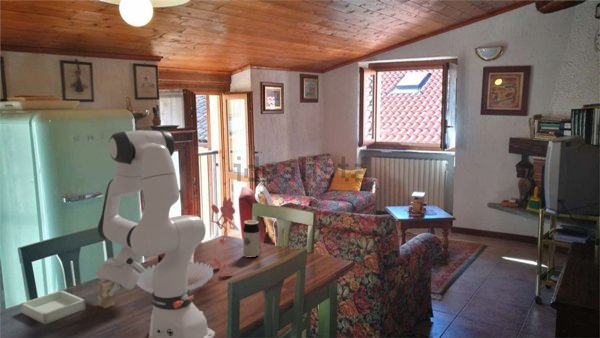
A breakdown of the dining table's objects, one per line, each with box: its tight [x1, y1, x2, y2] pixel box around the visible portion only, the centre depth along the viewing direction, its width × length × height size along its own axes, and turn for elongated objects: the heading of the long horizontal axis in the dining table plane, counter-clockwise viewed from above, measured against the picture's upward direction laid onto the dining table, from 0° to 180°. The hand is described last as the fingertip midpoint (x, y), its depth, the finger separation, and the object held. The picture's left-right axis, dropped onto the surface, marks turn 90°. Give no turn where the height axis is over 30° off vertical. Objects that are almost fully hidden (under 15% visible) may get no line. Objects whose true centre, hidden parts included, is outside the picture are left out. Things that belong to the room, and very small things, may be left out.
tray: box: [20, 289, 87, 325], centre depth 166 cm, size 16×15×4 cm
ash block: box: [97, 280, 115, 309], centre depth 172 cm, size 4×4×9 cm
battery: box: [157, 253, 166, 264], centre depth 212 cm, size 4×7×10 cm, turn 35°
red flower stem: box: [211, 196, 239, 282], centre depth 208 cm, size 15×26×35 cm, turn 35°
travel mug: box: [242, 219, 260, 256], centre depth 231 cm, size 8×8×18 cm
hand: (104, 293), depth 171 cm, fingers closed on ash block, 4 cm apart
